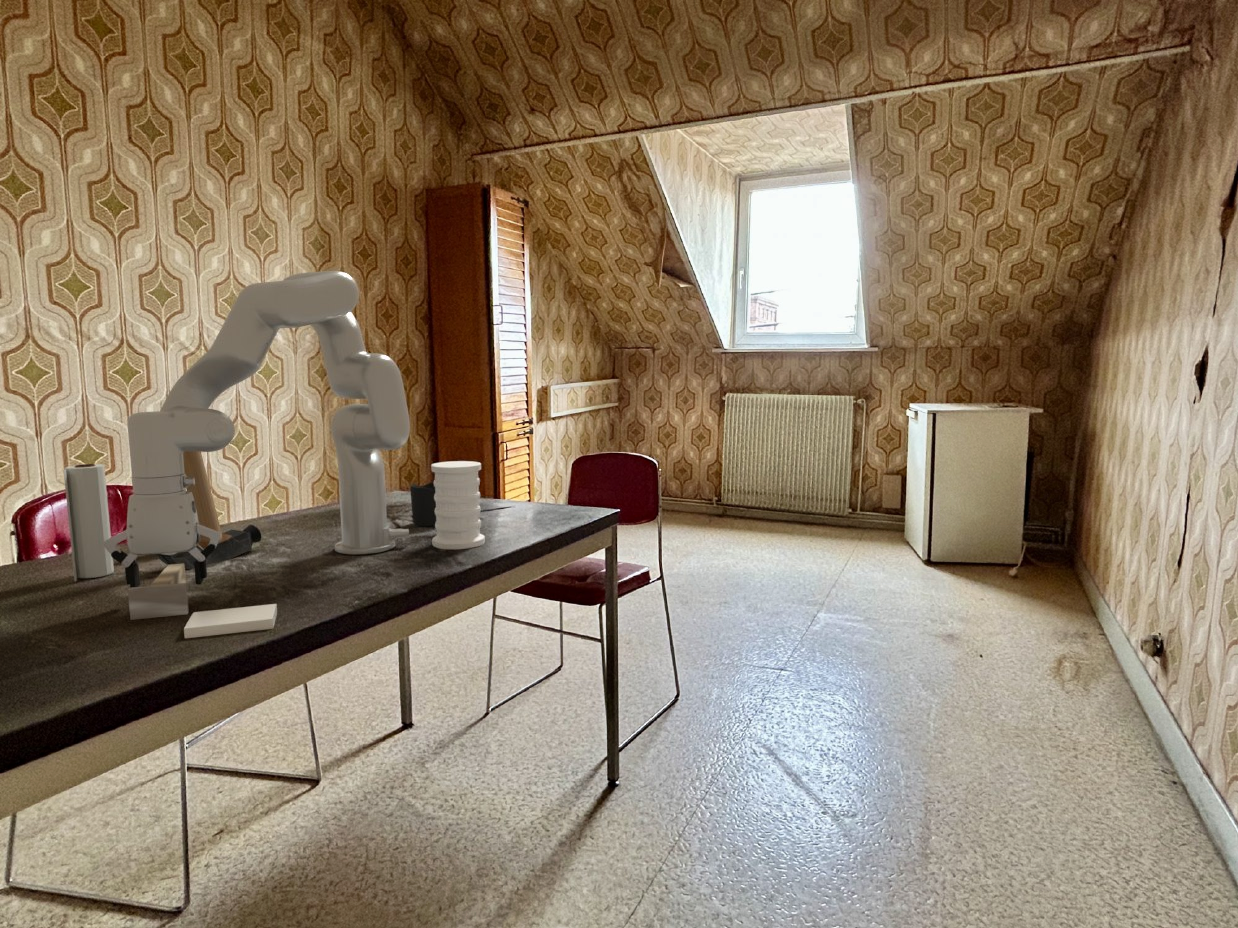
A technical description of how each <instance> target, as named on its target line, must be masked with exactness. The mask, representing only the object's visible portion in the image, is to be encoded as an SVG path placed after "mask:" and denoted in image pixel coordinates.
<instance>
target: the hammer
mask: <svg viewBox="0 0 1238 928" xmlns="http://www.w3.org/2000/svg"><path fill="white" fill-rule="evenodd" d="M183 460H184V473H186V476H187V477H190V478H193V477H194V478H195V485H190V486H188V487H187V488H186V491H191V492H192V495H193V498H194V501H195V506H196V510H197V516H198V523H199V525H202V526H205V527H207V528H210V529H213V530H215V531H218V532H220V533H221V534H222V536H221V538H220V540H219V542H218V544H217V546H216V548H215V549H214V551H213V552H212V553H211V554H210V555H209V556H208V557H207V558H206V566H208V565H212V564H217V563H221V562H224V561H227V560H230V559H233V558H236V557H237V556H240V555H242V554H244V553H246V552H249V551H251V550H252V548H253V544H254V543H255V544H256V543H259V542H261V540H262V532H261V531H260V529H259V528H258V527H257V526H255V525H254V524H249V525H247V526H246V527H245V528H244V529H243V530H237V529H232V528H231V529H229V530H227V531H224V532H222V529H221V524H220V522H219V521H220V520H219V517H218V512H217V509H216V506H215V500H214V498H213V497H214V496H213V494H212V490H211V485H210V482H209V479H208V474H207V471H206V467H205V462H204V458H203V455H202V452H184V453H183ZM209 543H210V538H209V537H206V536H203V535H201V534H200V542H199V544H198V545H200V546H201V547H202V548H203V549H205V548H206V547H207V546H208V545H209ZM154 555H155V557H156V558H158V559H159V560H160V561H161V562H162V563H164V564H166V565H167V566H168V565H171V564H183V563H184V565H185V570H193V569H194V562H195V561H196V558H195V557H194V556H192V555H191V554H190V553H189V552H188V551H187V552H178V553H176V554H173V555H164V554H163V555H162V554H154Z"/></svg>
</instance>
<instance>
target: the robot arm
mask: <svg viewBox="0 0 1238 928" xmlns="http://www.w3.org/2000/svg"><path fill="white" fill-rule="evenodd" d="M359 298H360V291H359V287H358V284H357V282H356V281H355V279H354V278H353V277H352V276H350V275H349V274H348V273H346V272H344V271H341V270H325V271H324V270H323V271H310V272H299V273H295V274H291V275H288V276H287V277H285V278H284V279H283V280H276V281H274V280H273V281H262V282H255V283H251V284H248V285H246V286H244V288H243V289H242V290H241V291H240V293H238V295H237V297H236V299H235V301H234V303H233V305H232V307H231V308H230V311H229V312H228V315H227V316H226V319H225V320H224V322H223V324H222V326H221V328H220V330H219V332H218V334H217V335H216V337H215V339H214V341H213V343H212V344H211V346H210V348H209V349H208V351H207V352H205V353H204V354H203V355H202V356H201V357H200V358H198V359H197V360H196V361H195V362H194V364H192V366H191V367H189V369H187V370H186V371H185V373H183V374H182V375H181V376H180V377H179V379H177V381H176V382H175V383H174V385H173V386H172V388H171V390H170V391H169V392H168V395H167V397H166V399H165V400H164V402H163V404H162V406H161V408H160V410H159V411H141V412H135V413H131V415H129V417H128V418H127V435H128V446H129V459H130V468H131V480H132V490H133V493H132V494H131V495H129V497H128V503H127V514H126V516H127V517H126V529H125V530H123V531H121V532H120V533H117V534H115V535H114V536H111V538H110V539H108V540H106V541H105V542H104V543H103V545H104V546H105V548H106V549H107V551H108V552H109V553H110V554H111V557H112V558H113V560H115V561H116V562H118V563H119V564H120V565H121V567H123V568H124V571H125V582H126V585H128V586H129V588H134V587H141V586H140V585H141V581H140V579H141V577H140V568H139V566H140V565H139V563H138V562H136V559H138V558H139V556H149V555H155V554H165V553H178V552H187V551H188V552H189V553H190V554H191V555H192V556H194V557H195V558H196V561H195V562H194V580H195V585H197V586H198V585H199V586H200V585H201V584H203V582H204V580H205V579H206V578H207V576H208V571H207V565H206V558H207V557H208V556H209V555H210V554H211V553H212V552H213V551H214V549H215V548H216V546H217V544H218V542H219V540H220V538H221V536H222V534H221V533H220V532H218V531H215V530H213V529H210V528H207V527H205V526H202V525H199V523H198V516H197V510H196V506H195V501H194V498H193V495H192V492H191V491H187V489H186V488H187V487H188V486H190V485H195V478H194V477H193V478H190V477H187V476H186V473H184V460H183V453H184V452H201V453H213V452H218V451H221V450H223V449H225V448H226V447H227V446H228V445H230V443H231V442H232V441H233V440H234V437H235V433H236V429H235V428H236V427H235V424H234V422H233V419H231V418H230V417H229V416H228V415H227V414H225V412H222V411H221V410H218V409H213V408H210V407H211V405H212V404H213V402H214V401H216V399H218V397H220V395H222V393H224V392H226V391H227V390H228V389H230V388H232V387H233V386H235V385H237V384H239V383H242V382H243V381H246V380H247V379H249V378H250V377H252V376H253V375H255V374H256V373H257V372H258V371H259V370H260V368H261V366H262V364H263V362H264V360H265V358H266V356H267V353H268V352H269V350H270V347H271V346H272V343H273V341H274V340H275V337H276V336H277V333H278V332H279V330H280V329H290V328H291V329H293V328H295V329H296V328H301V327H306V326H311V327H312V329H313V330H314V331H315V333H316V335H317V338H318V341H319V344H320V349H321V352H322V356H323V363H324V367H325V372H326V377H327V380H328V385H329V387H330V390H331V391H332V393H333V394H335V396H337V397H339V398H342V399H349V400H350V399H351V400H366V402H367V403H351V404H346V405H343V406H342V407H340V408H338V409H337V410H336V411H335V412H334V414H333V416H332V417H331V422H330V432H331V436H332V440H333V441H332V442H333V444H334V445H333V446H334V447H335V453H336V457H337V458H336V459H337V469H338V488H339V491H338V492H339V493H338V494H339V508H340V510H339V511H340V512H339V513H340V527H341V528H340V529H341V541H338V542H337V543H335V544H334V551H335V552H337V553H338V554H343V555H369V554H370V555H371V554H377V553H383V552H386V551H389V550H392V549H393V548H395V546H396V540H395V539H408V538H409V539H410V530H409V528H405V529H404V528H395V529H394V528H391V527H390V525H389V523H388V518H387V517H388V515H387V496H386V495H387V491H386V473H385V472H386V471H385V464H384V461H383V458H382V455H381V453H380V451H394V450H399V449H400V448H402V447H403V446H404V445H405V444H406V443H407V441H408V439H409V438H410V437H409V436H410V431H411V423H410V422H411V421H410V416H409V409H408V405H407V404H408V403H407V399H406V393H405V392H406V391H405V386H404V382H403V377H402V376H403V375H402V374H401V373H402V372H401V370H400V368H399V366H398V365H397V364H396V362H395V361H394V360H393V359H392V358H391V357H390V356H388V355H385V354H382V353H377V352H375V353H374V352H367V349H366V346H365V342H364V339H363V335H362V329H361V327H360V324H359V322H358V320H357V319H356V316H354V314H353V310H354V309H355V308H356V306H357V304H358V302H359ZM200 534H201V535H203V536H206V537H209V538H210V543H209V545H208V546H207V547H206V548H205V549H203V548H202V547H201V546H200V545H198V544H199V542H200ZM124 540H126V542H127V543H126V545H127V549H128V554H127V553H126V552H124V550H122V549H120V548H119V546H118V544H119V543H120V542H122V541H124Z"/></svg>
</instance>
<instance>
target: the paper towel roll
mask: <svg viewBox="0 0 1238 928" xmlns="http://www.w3.org/2000/svg"><path fill="white" fill-rule="evenodd" d="M63 479H64V488H65V499H66V508H67V519H68V520H67V521H68V527H69V539H70V548H71V558H72V565H73V566H72V568H73V580H74V582H77V581H78V579H92V578H93V579H94V578H101V577H106V576H109V575H111V574H113V573H114V572H115V567H114V558H112V557H111V554H110V553H109V552H108V551H107V549H106V548H105V546H104V545H103V543H104V542H105V541H106V540H108V539H110V538H112V536H111V525H110V513H109V512H110V511H109V504H108V495H107V494H108V493H107V491H108V490H107V483H106V472H105V465H104V464H102V463H101V464H100V463H99V464H97V463H85V464H84V463H83V464H76V465H69V466H65V467H64V468H63Z"/></svg>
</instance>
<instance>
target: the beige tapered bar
mask: <svg viewBox="0 0 1238 928" xmlns="http://www.w3.org/2000/svg"><path fill="white" fill-rule="evenodd" d="M187 586H188V585H187V579H186V569H185V565H184V563H183V564H171V565H167V566H166V567H165V568H164V569H163V570H162V571H161V573H159V575H157V577H156V578H154V580H153V581H152V582H151V584H150V585H147V586H139V587H134V588H130V587H128V589H127V596H128V609H129V616H130V617H129V619H130V621H132V620H142V619H151V618H163V617H171V616H181V615H183V616H184V615H188V614H189V611H190V610H189V600H188V598H189V597H188V589H187Z"/></svg>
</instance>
